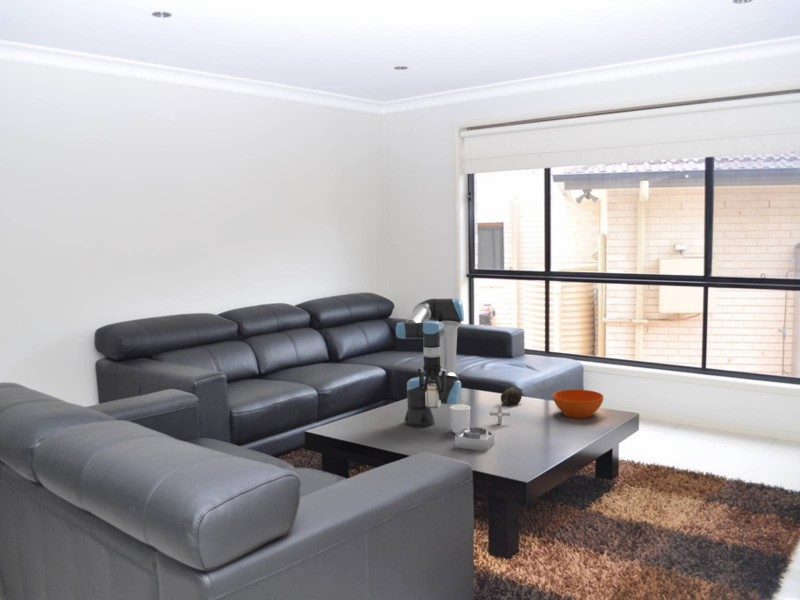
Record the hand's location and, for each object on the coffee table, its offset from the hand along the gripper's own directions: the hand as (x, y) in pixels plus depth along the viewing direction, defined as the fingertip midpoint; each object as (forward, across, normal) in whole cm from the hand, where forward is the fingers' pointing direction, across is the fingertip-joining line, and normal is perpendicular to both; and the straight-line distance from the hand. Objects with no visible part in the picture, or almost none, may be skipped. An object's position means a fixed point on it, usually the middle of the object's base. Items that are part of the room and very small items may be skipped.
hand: (433, 405), depth 329 cm
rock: (+19, +12, +79) cm, 82 cm away
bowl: (+19, +50, +71) cm, 89 cm away
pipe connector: (+19, +18, +41) cm, 48 cm away
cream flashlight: (0, 0, 0) cm, 0 cm away
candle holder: (+18, +4, +23) cm, 29 cm away
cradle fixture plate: (+18, +18, +5) cm, 26 cm away
